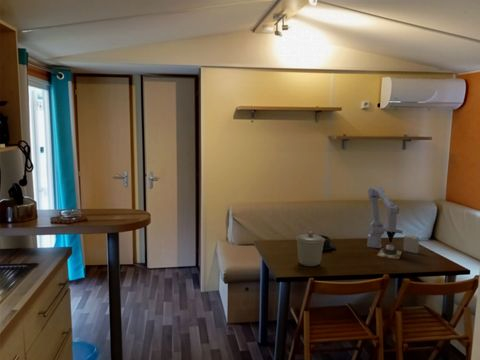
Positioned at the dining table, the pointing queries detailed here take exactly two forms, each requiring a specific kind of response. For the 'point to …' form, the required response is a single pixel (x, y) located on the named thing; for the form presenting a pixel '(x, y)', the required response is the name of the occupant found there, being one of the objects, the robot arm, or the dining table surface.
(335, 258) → the dining table surface
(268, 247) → the dining table surface
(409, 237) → the photo printer
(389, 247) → the white round cylinder
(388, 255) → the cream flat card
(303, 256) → the canister
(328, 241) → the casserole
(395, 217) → the robot arm
